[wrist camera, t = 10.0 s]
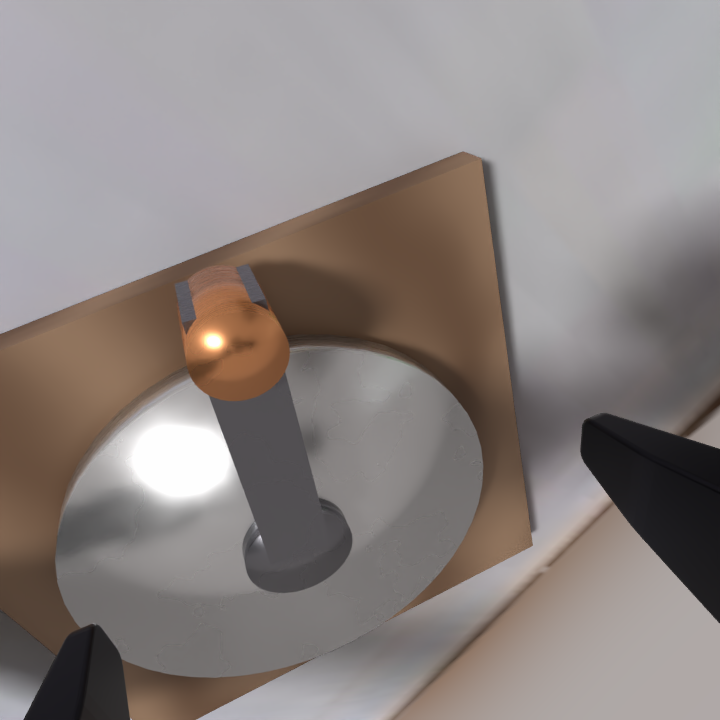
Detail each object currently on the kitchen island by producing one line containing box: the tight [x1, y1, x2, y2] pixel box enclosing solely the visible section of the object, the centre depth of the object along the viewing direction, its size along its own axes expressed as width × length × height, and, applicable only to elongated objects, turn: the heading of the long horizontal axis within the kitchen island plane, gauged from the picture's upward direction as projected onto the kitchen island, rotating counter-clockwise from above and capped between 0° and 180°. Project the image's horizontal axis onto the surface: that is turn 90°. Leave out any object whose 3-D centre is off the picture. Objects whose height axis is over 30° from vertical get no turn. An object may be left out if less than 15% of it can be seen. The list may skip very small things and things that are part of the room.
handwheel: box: [55, 264, 483, 678], centre depth 19 cm, size 19×16×4 cm
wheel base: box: [0, 152, 533, 720], centre depth 23 cm, size 21×21×1 cm
